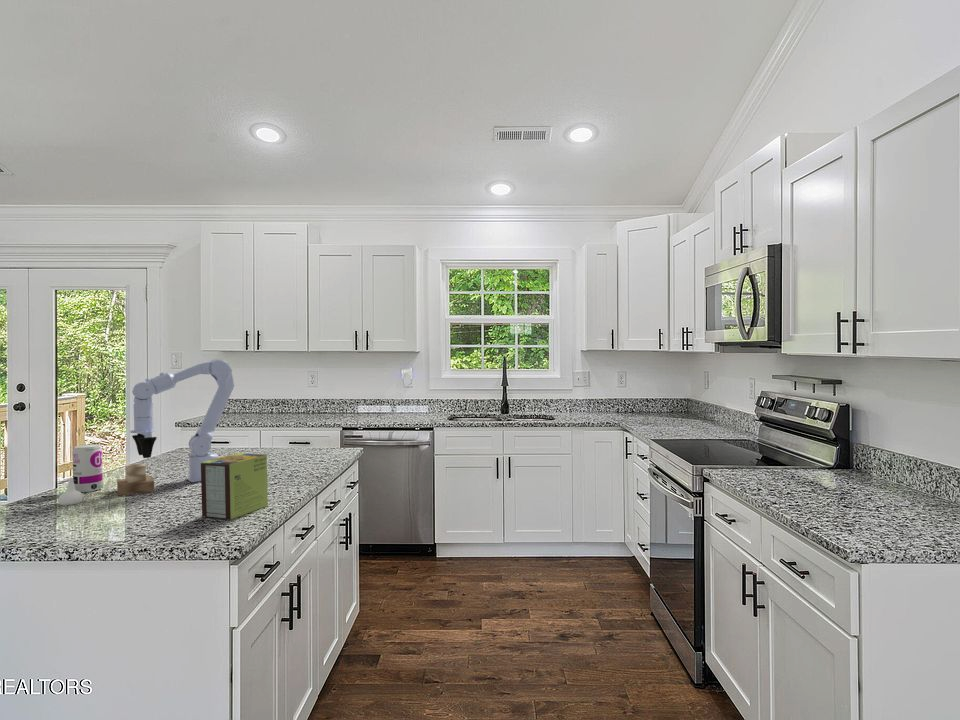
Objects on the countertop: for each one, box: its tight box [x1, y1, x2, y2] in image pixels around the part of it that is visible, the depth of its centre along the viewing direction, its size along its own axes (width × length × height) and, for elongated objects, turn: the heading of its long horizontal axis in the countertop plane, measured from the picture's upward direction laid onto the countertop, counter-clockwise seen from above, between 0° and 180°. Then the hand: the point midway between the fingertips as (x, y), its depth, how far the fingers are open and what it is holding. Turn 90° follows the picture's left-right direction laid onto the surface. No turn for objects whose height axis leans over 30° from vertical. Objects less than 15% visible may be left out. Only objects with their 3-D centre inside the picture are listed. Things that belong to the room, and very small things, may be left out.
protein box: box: [200, 452, 269, 521], centre depth 165 cm, size 10×15×16 cm
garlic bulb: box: [57, 477, 84, 506], centre depth 177 cm, size 6×6×8 cm
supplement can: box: [72, 443, 104, 493], centre depth 193 cm, size 8×8×15 cm
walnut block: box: [116, 475, 155, 497], centre depth 191 cm, size 10×10×4 cm
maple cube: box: [124, 463, 147, 483], centre depth 191 cm, size 5×5×5 cm
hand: (144, 456), depth 198 cm, fingers open, 7 cm apart
